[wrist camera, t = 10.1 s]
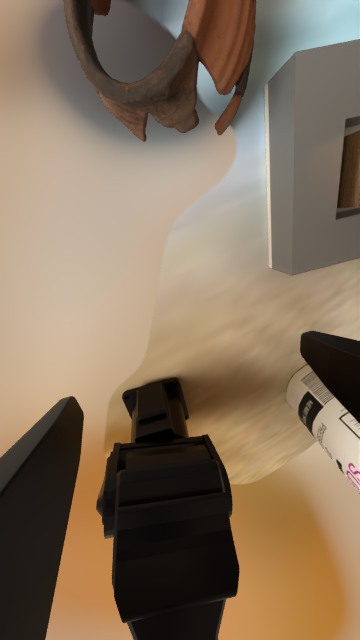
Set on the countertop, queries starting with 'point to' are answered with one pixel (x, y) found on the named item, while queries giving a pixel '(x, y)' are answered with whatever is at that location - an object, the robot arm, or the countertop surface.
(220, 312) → the countertop surface
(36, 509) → the robot arm
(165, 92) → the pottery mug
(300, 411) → the supplement can
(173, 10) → the countertop surface
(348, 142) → the wooden toy block
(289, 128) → the charcoal well block
